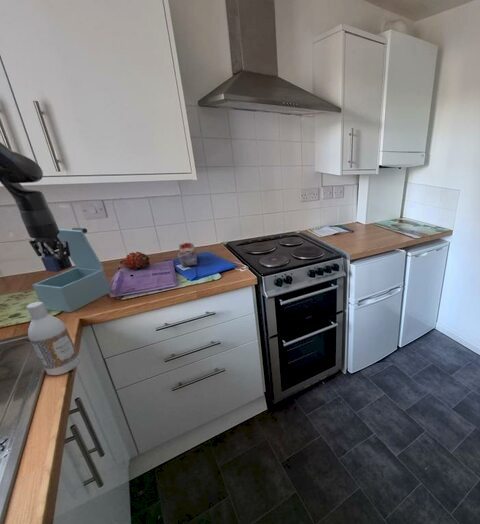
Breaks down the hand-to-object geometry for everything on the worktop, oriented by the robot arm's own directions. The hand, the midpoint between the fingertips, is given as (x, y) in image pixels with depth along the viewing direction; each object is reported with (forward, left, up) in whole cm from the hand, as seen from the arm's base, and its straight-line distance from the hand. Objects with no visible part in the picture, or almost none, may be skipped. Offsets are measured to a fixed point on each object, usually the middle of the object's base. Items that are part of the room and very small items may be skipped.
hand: (59, 267), depth 107 cm
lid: (+5, +6, +4) cm, 9 cm away
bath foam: (+7, -42, -15) cm, 45 cm away
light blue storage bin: (+1, +2, -14) cm, 15 cm away
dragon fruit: (+18, +26, -15) cm, 35 cm away
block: (0, 0, 0) cm, 0 cm away
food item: (+40, +22, -15) cm, 48 cm away
